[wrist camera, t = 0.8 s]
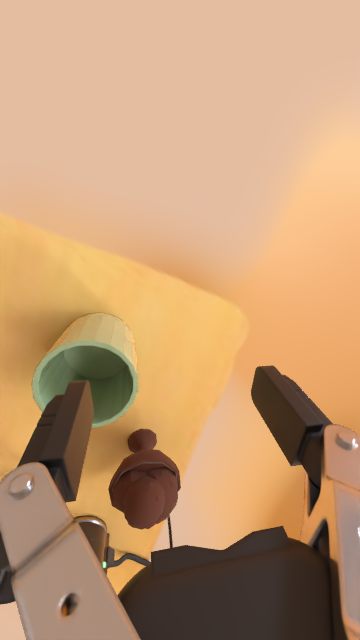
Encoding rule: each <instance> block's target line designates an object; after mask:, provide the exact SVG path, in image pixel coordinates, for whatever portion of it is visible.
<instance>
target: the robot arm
mask: <svg viewBox="0 0 360 640" xmlns="http://www.w3.org/2000/svg"><path fill="white" fill-rule="evenodd" d="M251 396H252V400H253V403H254V404H255V406H256V408H257V410H258V411H259V413H260V414H261V416H262V418H263V420H264V421H265V423H266V424H267V426H268V428H269V430H270V431H271V433H272V435H273V436H274V438H275V440H276V441H277V443H278V445H279V447H280V448H281V450H282V452H283V453H284V455H285V456H286V458H287V460H288V462H289V463H290V465H291V466H296V465H302V466H303V467H304V469H305V471H306V474H305V488H304V489H305V490H304V516H303V526H302V531H301V535H300V540H296V539H292V538H288V537H287V534H286V532H285V530H284V528H283V526H280V527H275V528H270V529H265V530H260V531H254V532H252V533H250V534H248V535H247V536H245V537H244V538H243V539H241V540H239V541H237V542H236V543H234V544H233V545H231V546H230V547H228V548H226V549H225V550H214V549H208V548H201V547H195V546H188V545H185V546H179V547H174V548H173V542H172V530H171V522H170V514H169V516H168V517H167V519H168V529H169V542H170V548H169V549H164V550H159V551H154V552H151V562H149V561H147V560H144V559H142V558H140V557H138V556H136V555H134V554H125V555H123V556H122V557H121V558H120V559H119V560H116V561H114V549H112V548H111V547H109V534H108V533H107V526H106V524H105V523H104V522H103V521H102V520H101V519H99V518H96V517H91V516H85V517H79V518H76V519H74V518H73V517H72V515H71V513H70V511H69V509H68V507H67V505H66V504H65V503H66V502H71V501H76V496H77V492H78V487H79V482H80V478H81V473H82V468H83V464H84V459H85V454H86V450H87V445H88V440H89V436H90V431H91V426H92V422H93V412H94V411H93V402H92V396H91V390H90V384H89V381H88V380H86V381H73V382H69V384H68V386H67V389H66V391H65V394H62V395H56V396H55V397H54V398H53V399H52V400H51V401H50V402H49V403H48V404H47V405H46V407H45V409H44V411H43V413H42V415H41V418H40V420H39V422H38V424H37V427H36V428H35V430H34V433H33V435H32V437H31V439H30V441H29V443H28V445H27V447H26V450H25V452H24V454H23V456H22V458H21V460H20V462H19V464H18V466H17V468H16V469H14V470H13V471H11V472H10V473H9V474H8V475H6V476H5V477H4V478H3V479H2V481H1V482H0V570H1V569H3V568H5V567H7V566H9V565H10V566H11V570H12V576H11V584H12V589H13V593H14V596H15V600H16V604H17V607H18V611H19V614H20V618H21V621H22V626H23V629H24V633H25V637H26V640H360V436H359V435H358V434H357V433H355V432H354V431H352V430H351V429H349V428H346V427H344V426H341V425H336V424H333V423H332V422H331V421H330V420H329V419H328V418H327V417H326V416H325V415H324V414H323V412H322V411H321V410H320V409H319V408H318V407H317V406H316V405H315V404H314V403H313V401H312V400H311V399H310V398H308V396H307V395H306V394H305V393H304V392H303V391H302V389H301V388H300V387H299V386H298V385H297V384H296V383H295V382H294V381H293V380H291V379H290V378H288V377H286V376H285V375H281V373H280V372H279V371H278V370H277V369H276V368H275V367H274V366H260V367H257V368H256V371H255V375H254V380H253V385H252V390H251ZM126 559H131V560H134V561H136V562H138V563H140V564H142V565H145V566H146V567H145V568H143V569H142V570H141V571H139V572H138V573H137V574H136V575H134V577H133V578H132V579H131V580H130V581H129V582H128V583H127V584H126V585H125V586H124V588H123V589H122V590H121V591H120V593H119V594H118V596H117V594H116V592H115V590H114V589H113V587H112V585H111V583H110V581H109V579H108V577H107V569H108V568H109V567H115V566H118V565H120V564H121V563H123V561H125V560H126Z"/></svg>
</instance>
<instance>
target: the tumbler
mask: <svg viewBox="0 0 360 640" xmlns="http://www.w3.org/2000/svg"><path fill="white" fill-rule="evenodd" d="M86 380H88V381H89V384H90V390H91V396H92V402H93V411H94V412H93V422H92V426H91V428H98V427H101V426H104V425H107V424H109V423H112V422H114V421H115V420H117V419H118V418H119V417H121V416H122V415H124V414H125V413H126V412H127V410H128V409H129V408H130V406H131V405H132V404H133V403H134V400H135V397H136V395H137V392H138V369H137V357H136V345H135V340H134V336H133V333H132V331H131V330H130V328H129V327H128V326H127V325H126V324H125V323H124V322H123V321H122V320H120V319H119V318H117V317H115V316H112V315H109V314H105V313H93V314H88V315H84V316H82V317H80V318H78V319H77V320H75V321H74V322H73V323H72V324H71V325H70V326H69V327H68V328H67V329H66V330H65V332H64V333H63V334H62V335H61V336H60V338H59V339H58V340H57V341H56V343H55V344H54V345H53V346H52V348H51V349H50V350H49V351H48V353H47V354H46V355H45V356H44V358H43V359H42V361H41V362H40V363H39V365H38V366H37V367H36V369H35V373H34V376H33V380H32V390H33V397H34V399H35V401H36V403H37V405H38V406H39V408H40V410H41V411H42V412H43V411H44V409H45V407H46V405H47V404H48V403H49V402H50V401H51V400H52V399H53V398H54V397H55V396H56V395H62V394H65V391H66V389H67V386H68V384H69V382H73V381H86Z"/></svg>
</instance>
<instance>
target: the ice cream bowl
mask: <svg viewBox="0 0 360 640" xmlns="http://www.w3.org/2000/svg"><path fill="white" fill-rule="evenodd" d="M156 443H157V440H156V434H155V433H153V432H152V431H151V430H146V429H140V430H138V431H136V432H134V433H132V435H131V436H130V438H129V439H128V445H129V449H130V450H131V451H132V452H134V454H132V455H130V456H128V457H126V458H125V459H124V460H123V461H122V463H121V465H120V466H119V468H118V469H117V471H116V472H115V474H114V476H113V478H112V479H111V482H110V486H109V494H110V499H111V503H112V506H113V507H115V508H116V509H118V510H120V511H122V512H123V513H124V515H125V519H126V520H127V521H128V524H129V525H130V526H131V527H133V528H138V529H144V528H146V529H149V528H151V527H152V526H154V525H155V524H158V523H160V522H161V521H163V520H165V519H166V518H167V517H168V516H169V514H170V513H171V511H172V510H173V508H174V507H175V506H176V503H177V499H178V491H179V489H180V488H181V486H180V476H179V470H178V468H177V466H176V464H175V463H174V462H173V461H172V460H171V459H170V458H169V457H167V456H166V455H165V454H163V453H162V452H161V451H159V450H152V449H153V448H154V446H155V445H156Z"/></svg>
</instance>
